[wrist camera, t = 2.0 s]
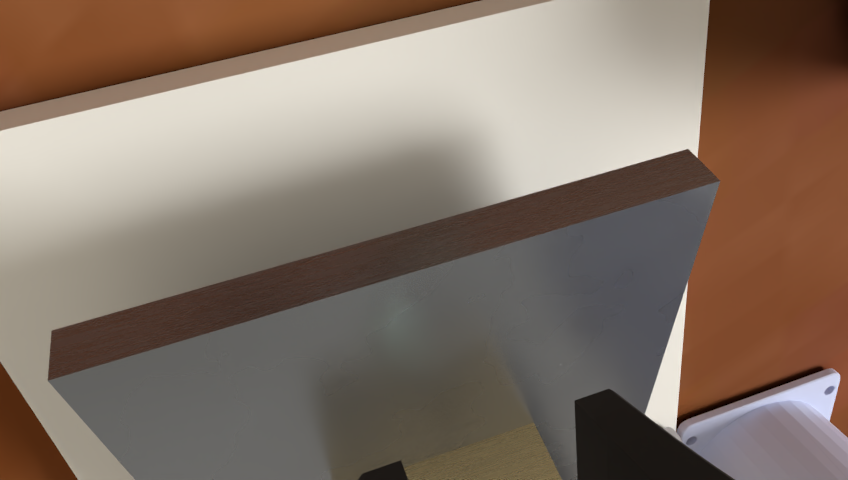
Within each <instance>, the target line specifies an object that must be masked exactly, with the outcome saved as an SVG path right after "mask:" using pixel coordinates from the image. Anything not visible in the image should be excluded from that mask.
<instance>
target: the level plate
mask: <svg viewBox="0 0 848 480" xmlns="http://www.w3.org/2000/svg"><path fill="white" fill-rule="evenodd" d="M719 183H720V180H719V179H718V178H717V177H716V176H715V175H714V174H713V173H712V172H711V171H710V170H709V169H708V168H707V167H706V166H705V165H704V164H703V163H702V162H701V161H700V160H699V159H698V158H697V157H696V156H695V155H694V154H693V153H692V152H691V151H690V150H689V149H686V150H682V151H679V152H675V153H672V154H668V155H665V156H661V157H658V158H654V159H651V160H647V161H644V162H640V163H637V164H633V165H630V166H626V167H623V168H619V169H616V170H612V171H609V172H605V173H602V174H598V175H595V176H591V177H588V178H584V179H581V180H577V181H574V182H570V183H567V184H563V185H560V186H556V187H553V188H549V189H546V190H542V191H539V192H535V193H532V194H528V195H525V196H521V197H518V198H514V199H511V200H507V201H504V202H500V203H497V204H493V205H490V206H486V207H483V208H479V209H476V210H472V211H469V212H465V213H462V214H458V215H455V216H451V217H448V218H444V219H441V220H437V221H434V222H430V223H427V224H423V225H420V226H416V227H413V228H409V229H406V230H402V231H399V232H395V233H392V234H388V235H385V236H381V237H378V238H374V239H371V240H367V241H364V242H360V243H357V244H353V245H350V246H346V247H343V248H339V249H336V250H332V251H329V252H325V253H322V254H318V255H315V256H311V257H308V258H304V259H300V260H297V261H293V262H290V263H286V264H283V265H279V266H276V267H272V268H269V269H265V270H262V271H258V272H255V273H251V274H248V275H244V276H241V277H237V278H234V279H230V280H227V281H223V282H220V283H216V284H213V285H209V286H206V287H202V288H199V289H195V290H192V291H188V292H185V293H181V294H178V295H174V296H171V297H167V298H164V299H160V300H157V301H153V302H150V303H146V304H143V305H139V306H136V307H132V308H129V309H125V310H122V311H118V312H115V313H111V314H108V315H104V316H101V317H97V318H94V319H90V320H87V321H83V322H80V323H76V324H73V325H69V326H66V327H62V328H59V329H55V330H52V331H51V344H50V357H49V370H48V382H49V383H50V384H51V385H52V386H53V387H54V389H55V390H56V391H57V392H58V393H59V394H60V395H61V396H62V398H63V399H64V400H65V401H66V402H67V403H68V404H69V406H70V407H71V408H72V409H73V410H74V411H75V412H76V413H77V415H78V416H79V417H80V418H81V419H82V420H83V421H84V423H85V424H86V425H87V426H88V427H89V428H90V429H91V430H92V432H93V433H94V434H95V435H96V436H97V437H98V438H99V439H100V441H101V442H102V443H103V444H104V445H105V446H106V447H107V449H108V450H109V451H110V452H111V453H112V454H113V455H114V456H115V458H116V459H117V460H118V461H119V462H120V463H121V464H122V466H123V467H124V468H125V469H126V470H127V471H128V472H129V473H130V475H131V476H132V477H133V478H134V479H135V480H358V479H359V477H360V476H361V475H362V474H363V473H365V472H368V471H371V470H374V469H377V468H380V467H383V466H386V465H389V464H392V463H394V462H397V461H400V460H401V462H402V464H403V467H404V470H405V472H406V475H407V478H408V480H577V454H576V429H575V403H574V400H577V399H580V398H583V397H586V396H589V395H592V394H595V393H598V392H601V391H603V390H606V389H611V390H613V391H615V392H616V393H617V394H619V395H620V396H621V397H623V398H624V399H625V400H626V401H628V402H629V403H630V404H632V405H633V406H634V407H635V408H637V409H638V410H639V411H641V412H642V413H643V414H645V412H646V409H647V406H648V403H649V400H650V397H651V394H652V391H653V387H654V384H655V381H656V378H657V375H658V372H659V369H660V366H661V363H662V360H663V356H664V353H665V350H666V347H667V344H668V341H669V338H670V335H671V332H672V329H673V325H674V322H675V319H676V316H677V313H678V310H679V307H680V304H681V301H682V298H683V294H684V291H685V288H686V285H687V282H688V279H689V276H690V273H691V270H692V267H693V263H694V260H695V257H696V254H697V251H698V248H699V245H700V242H701V239H702V236H703V232H704V229H705V226H706V223H707V220H708V217H709V214H710V211H711V208H712V205H713V201H714V198H715V195H716V192H717V189H718V186H719Z"/></svg>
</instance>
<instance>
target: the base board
mask: <svg viewBox="0 0 848 480" xmlns="http://www.w3.org/2000/svg"><path fill="white" fill-rule="evenodd" d="M709 4H710V0H481V1H476V2H472V3H468V4H463V5H459V6H455V7H450V8H446V9H442V10H437V11H433V12H429V13H424V14H420V15H416V16H411V17H407V18H403V19H398V20H394V21H390V22H385V23H381V24H377V25H373V26H368V27H364V28H360V29H355V30H351V31H347V32H342V33H338V34H334V35H329V36H325V37H321V38H316V39H312V40H308V41H303V42H299V43H295V44H290V45H286V46H282V47H277V48H273V49H269V50H264V51H260V52H256V53H251V54H247V55H243V56H238V57H234V58H230V59H225V60H221V61H217V62H212V63H208V64H204V65H200V66H195V67H191V68H187V69H182V70H178V71H174V72H169V73H165V74H161V75H156V76H152V77H148V78H143V79H139V80H135V81H130V82H126V83H122V84H117V85H113V86H109V87H104V88H100V89H96V90H91V91H87V92H83V93H78V94H74V95H70V96H65V97H61V98H57V99H52V100H48V101H44V102H39V103H35V104H31V105H26V106H22V107H18V108H14V109H9V110H5V111H1V112H0V362H1V363H2V365H3V367H4V368H5V370H6V371H7V373H8V374H9V376H10V377H11V379H12V380H13V382H14V383H15V385H16V386H17V388H18V389H19V391H20V392H21V394H22V395H23V397H24V398H25V400H26V401H27V403H28V404H29V406H30V407H31V409H32V411H33V412H34V414H35V415H36V417H37V418H38V420H39V421H40V423H41V424H42V426H43V427H44V429H45V430H46V432H47V433H48V435H49V436H50V438H51V439H52V441H53V442H54V444H55V445H56V447H57V448H58V450H59V452H60V453H61V455H62V456H63V458H64V459H65V461H66V462H67V464H68V465H69V467H70V468H71V470H72V471H73V473H74V474H75V476H76V477H77V479H78V480H135V479H134V478H133V477H132V476H131V475H130V473H129V472H128V471H127V470H126V469H125V468H124V467H123V466H122V464H121V463H120V462H119V461H118V460H117V459H116V458H115V456H114V455H113V454H112V453H111V452H110V451H109V450H108V449H107V447H106V446H105V445H104V444H103V443H102V442H101V441H100V439H99V438H98V437H97V436H96V435H95V434H94V433H93V432H92V430H91V429H90V428H89V427H88V426H87V425H86V424H85V423H84V421H83V420H82V419H81V418H80V417H79V416H78V415H77V413H76V412H75V411H74V410H73V409H72V408H71V407H70V406H69V404H68V403H67V402H66V401H65V400H64V399H63V398H62V396H61V395H60V394H59V393H58V392H57V391H56V390H55V389H54V387H53V386H52V385H51V384H50V383H49V382H48V370H49V357H50V344H51V331H52V330H55V329H59V328H62V327H66V326H69V325H73V324H76V323H80V322H83V321H87V320H90V319H94V318H97V317H101V316H104V315H108V314H111V313H115V312H118V311H122V310H125V309H129V308H132V307H136V306H139V305H143V304H146V303H150V302H153V301H157V300H160V299H164V298H167V297H171V296H174V295H178V294H181V293H185V292H188V291H192V290H195V289H199V288H202V287H206V286H209V285H213V284H216V283H220V282H223V281H227V280H230V279H234V278H237V277H241V276H244V275H248V274H251V273H255V272H258V271H262V270H265V269H269V268H272V267H276V266H279V265H283V264H286V263H290V262H293V261H297V260H300V259H304V258H308V257H311V256H315V255H318V254H322V253H325V252H329V251H332V250H336V249H339V248H343V247H346V246H350V245H353V244H357V243H360V242H364V241H367V240H371V239H374V238H378V237H381V236H385V235H388V234H392V233H395V232H399V231H402V230H406V229H409V228H413V227H416V226H420V225H423V224H427V223H430V222H434V221H437V220H441V219H444V218H448V217H451V216H455V215H458V214H462V213H465V212H469V211H472V210H476V209H479V208H483V207H486V206H490V205H493V204H497V203H500V202H504V201H507V200H511V199H514V198H518V197H521V196H525V195H528V194H532V193H535V192H539V191H542V190H546V189H549V188H553V187H556V186H560V185H563V184H567V183H570V182H574V181H577V180H581V179H584V178H588V177H591V176H595V175H598V174H602V173H605V172H609V171H612V170H616V169H619V168H623V167H626V166H630V165H633V164H637V163H640V162H644V161H647V160H651V159H654V158H658V157H661V156H665V155H668V154H672V153H675V152H679V151H682V150H686V149H689V150H690V151H691V152H692V153H693V154H694V155H695V156H696V157H698V144H699V131H700V119H701V106H702V93H703V81H704V68H705V55H706V43H707V30H708V17H709ZM687 284H688V282H687ZM686 296H687V285H686V288H685V291H684V294H683V298H682V301H681V304H680V307H679V310H678V313H677V316H676V319H675V322H674V325H673V329H672V332H671V335H670V338H669V341H668V344H667V347H666V350H665V353H664V356H663V360H662V363H661V366H660V369H659V372H658V375H657V378H656V381H655V384H654V387H653V391H652V394H651V397H650V400H649V403H648V406H647V409H646V412H645V415H646V416H647V417H649V418H650V419H651V420H652V421H654V422H655V423H656V424H658V425H659V426H660V427H662V428H663V429H664V430H666V431H667V432H669V433H670V434H671V435H673V436H674V437H675V438H677V439H678V440H679V441H681V442H682V440H681V438H680V437H679V435H678V434H677V432H676V423H677V410H678V398H679V385H680V372H681V360H682V347H683V334H684V322H685V309H686ZM682 443H683V442H682Z"/></svg>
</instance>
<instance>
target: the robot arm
mask: <svg viewBox="0 0 848 480" xmlns="http://www.w3.org/2000/svg"><path fill="white" fill-rule="evenodd" d="M839 382H840V374H839V373H838V372H836V371H835V370H834V369H831V368H830V369H825V370H823V371H820V372H817V373H814V374H812V375H809V376H806V377H803V378H800V379H798V380H795V381H792V382H789V383H787V384H784V385H781V386H778V387H775V388H773V389H770V390H767V391H764V392H762V393H759V394H756V395H753V396H750V397H748V398H745V399H742V400H739V401H737V402H734V403H731V404H728V405H726V406H723V407H720V408H717V409H714V410H712V411H709V412H706V413H703V414H701V415H698V416H695V417H692V418H689V419H687V420H685V421H683V422H682V423H681V424H680V425H679V427H678V429H677V434H678V435H679V437H680V438H681V440H682V442H683V443H682V442H681V441H679V440H678V439H677V438H675V437H674V436H673V435H671V434H670V433H669V432H667V431H666V430H664V429H663V428H662V427H660V426H659V425H658V424H656V423H655V422H654V421H652V420H651V419H650V418H649V417H647V416H646V415H645V414H643V413H642V412H641V411H639V410H638V409H637V408H635V407H634V406H633V405H632V404H630V403H629V402H628V401H626V400H625V399H624V398H623V397H621V396H620V395H619V394H617V393H616V392H615V391H613V390H611V389H606V390H603V391H601V392H598V393H595V394H592V395H589V396H586V397H583V398H580V399H577V400H574V403H575V429H576V454H577V480H848V438H847V437H846V436H845V435H844V434H843V433H842V432H841V431H839V430H838V429H837V428H836V427H835V426H834V425H833V424H832V423H831V422H830V417H831V413H832V409H833V405H834V401H835V397H836V393H837V389H838V385H839ZM358 480H408V478H407V475H406V472H405V470H404V467H403V464H402V462H401V460H400V461H397V462H394V463H392V464H389V465H386V466H383V467H380V468H377V469H374V470H371V471H368V472H365V473H363V474H362V475H361V476H360V477H359V479H358Z"/></svg>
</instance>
